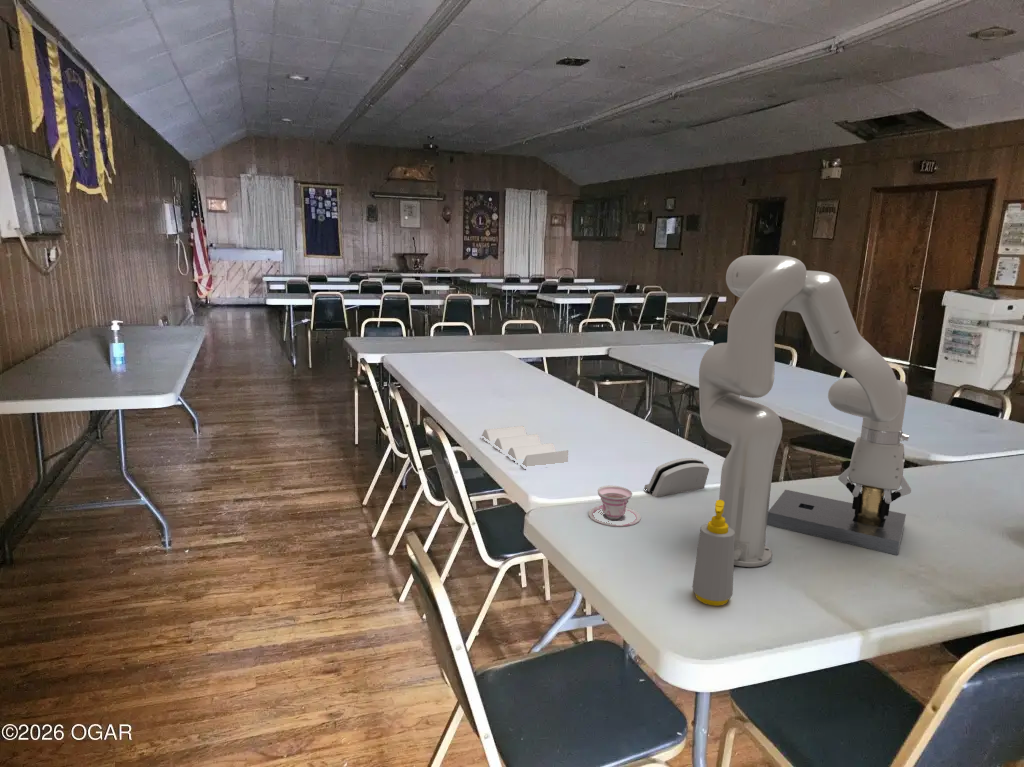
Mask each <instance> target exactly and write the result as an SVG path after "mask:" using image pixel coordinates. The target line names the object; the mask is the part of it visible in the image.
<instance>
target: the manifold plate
mask: <svg viewBox="0 0 1024 767" xmlns="http://www.w3.org/2000/svg"><path fill="white" fill-rule="evenodd" d="M852 505H853V502H849V501H842V500H838V499H834V498H828V497H824V496H819V495H814V494H810V493H809V494H808V493H804V492H800V491H799V492H798V491H794V490H790V489H784V491H783V492H782V493H781V495H779V497H778V498H777V500H776V501H775V502H774V504H773V505H772V506H771V508H770V509H769V510H768V519H767V526H771V527H775V528H779V529H780V528H781V529H784V530H789V531H793V532H797V533H801V534H806V535H810V536H814V537H818V538H822V539H825V540H832V541H835V542H838V543H843V544H848V545H852V546H856V547H860V548H865V549H869V550H873V551H878V552H882V553H885V554H886V553H887V554H891V555H895V556H899V555H898V554H899V550H900V546H901V541H902V537H903V532H904V529H905V523H906V519H907V518H906V516H907V514H906V513H902V512H897V511H892V510H889V514H888V516H885V517H884V520H880V527H877V526H872V525H868V524H863V523H859V522H857V520H858V514H857V515H856V514H855V509H852Z"/></svg>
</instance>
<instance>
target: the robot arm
mask: <svg viewBox="0 0 1024 767" xmlns="http://www.w3.org/2000/svg"><path fill="white" fill-rule="evenodd" d="M725 283H726V285H727V288H728V290H729V291H730V292H731V293H732V294H733V295H734V296H736V297H738V298H739V300H738V301H737V302H736V304H735V305H734V307H733V308H732V311H731V313H730V314H729V315H730V316H729V318H728V325H727V339H726V340H727V341H726V342H719V343H716V344H713V345H712V346H710V347H709V348H708V349H707V350H706V351H705V352H704V353H703V356H702V358H701V361H700V364H699V368H698V389H699V390H698V392H699V394H698V395H699V396H698V398H699V416H700V422H701V425H702V426H703V427H702V428H703V429H704V431H705V432H706V433H708V434H709V435H710V436H711V437H713V438H716V439H718V440H720V441H722V442H725V443H728V444H729V445H731V448H730V451H729V453H727V455H726V457H725V458H724V461H723V463H722V467H721V471H720V486H719V496H718V500H723V501H724V511H723V514H722V517H724V518H725V523H727V524H728V527H730V528H731V529H733V530H734V532H735V541H734V566H737V567H745V568H746V567H747V568H755V567H763V566H765V565H768V564H769V563H771V561H772V559H773V552H772V550H771V548H769V547H768V546H767V545H766V537H767V527H768V525H767V519H768V511H769V510H770V509H769V507H770V500H771V498H770V497H771V489H772V479H773V478H772V477H773V470H774V464H775V459H776V454H777V453H778V452H777V451H778V448H779V447H780V443H781V439H782V437H783V423H782V421H781V418H780V417H779V415H778V413H776V412H775V411H774V410H773V409H772V408H770V407H768V406H766V405H764V404H761V403H759V402H756V401H752V400H750V399H745V398H752V399H758V398H762V397H765V396H766V395H768V394H769V393H770V392H771V390H772V388H773V385H774V381H775V356H776V355H775V350H776V349H775V348H776V347H775V342H776V340H775V336H776V326H777V322H778V319H779V318H780V316H781V313H782V312H794V313H798V314H800V316H801V317H802V320H803V323H804V324H805V325H804V326H805V327H806V331H807V332H808V335H809V338H810V340H811V342H812V345H813V347H814V349H815V351H816V352H817V353H818V354H819V355H820V356H821V357H823V358H824V359H826V360H827V361H829V362H830V363H832V364H833V365H834V366H836V367H838V368H840V369H842V370H843V371H844V372H846V373H848V374H849V375H850V376H851V377H844V378H840V379H838V380H836V381H835V382H834V383H833V384H832V385H831V386H830V387H829V390H828V393H827V398H828V401H829V404H830V405H831V406H832V407H833V408H834V409H836V410H837V411H840V412H841V413H845V414H848V415H851V416H856V417H860V418H862V423H861V429H860V430H861V431H860V436H858V437H856V440H855V443H854V446H853V450H852V454H851V459H850V463H849V466H848V467H847V468H846V469H845V470H844V471H843V472H842V473H841V474H840V475H839V476H838V478H837V480H838V481H839V482H840V483H842V484H843V485H844V486H845V487H846V488H847V490H848V491H849V492H850V493H851V494H852V495H851V496H852V497H853V498H852V503H853V505H852V509H855V514H856V515H857V514H859V507H860V500H861V491H862V485H864V486H870V487H875V488H880V489H884V499H883V502H882V507H881V514H880V519H881V520H884V517H885V516H888V514H889V511H890V506H891V503H892V502H894V501H896V500H898V499H900V498H901V497H904V496H907V495H909V494H911V493H912V488H911V487H910V486H909V483H908V482H907V480H906V478H905V477H904V468H905V467H904V466H905V445H904V444H903V443H902V442H904V441H906V442H908V441H909V437H910V434H906V433H904V432H903V425H904V424H903V423H904V418H905V411H906V410H905V409H906V404H907V397H908V385H907V384H906V383H905V382H904V381H902V380H900V379H897V376H896V375H895V372H894V370H893V369H892V367H891V366H890V363H888V361H887V360H886V359H885V358H884V357H883V356H882V355H881V354H880V353H879V352H878V351H877V349H875V348H874V347H873V345H871V344H870V343H869V342H868V340H866V339H865V338H864V337H863V336H862V335H861V334H860V332H859V331H858V327H857V325H856V322H855V320H854V317H853V314H852V311H851V309H850V307H849V302H848V300H847V298H846V295H845V293H844V290H843V287H842V284H841V283H840V280H839V279H838V278H837V277H836V276H835V275H833V274H832V273H830V272H825V271H819V270H807V268H806V265H805V263H804V262H802V261H801V260H800V259H798V258H796V257H792V256H788V255H779V254H778V255H775V254H772V255H771V254H770V255H766V254H765V255H755V254H754V255H753V254H751V255H741V256H739V257H737V258H735V259H734V260H733V261H732V262H731V263H730V264H729V266H728V268H727V270H726V275H725ZM740 396H741V397H740ZM742 397H745V398H742Z"/></svg>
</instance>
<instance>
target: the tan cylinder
mask: <svg viewBox="0 0 1024 767" xmlns="http://www.w3.org/2000/svg"><path fill="white" fill-rule="evenodd" d="M860 492H861V500H860V507H859V514H858V520H857V522H859V523H863V524H868V525H872V526H877V527H880V520H881V519H880V514H881V507H882V502H883V500H884V497H885V496H884V489H880V488H875V487H870V486H864V485H862V488H861V490H860Z"/></svg>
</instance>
